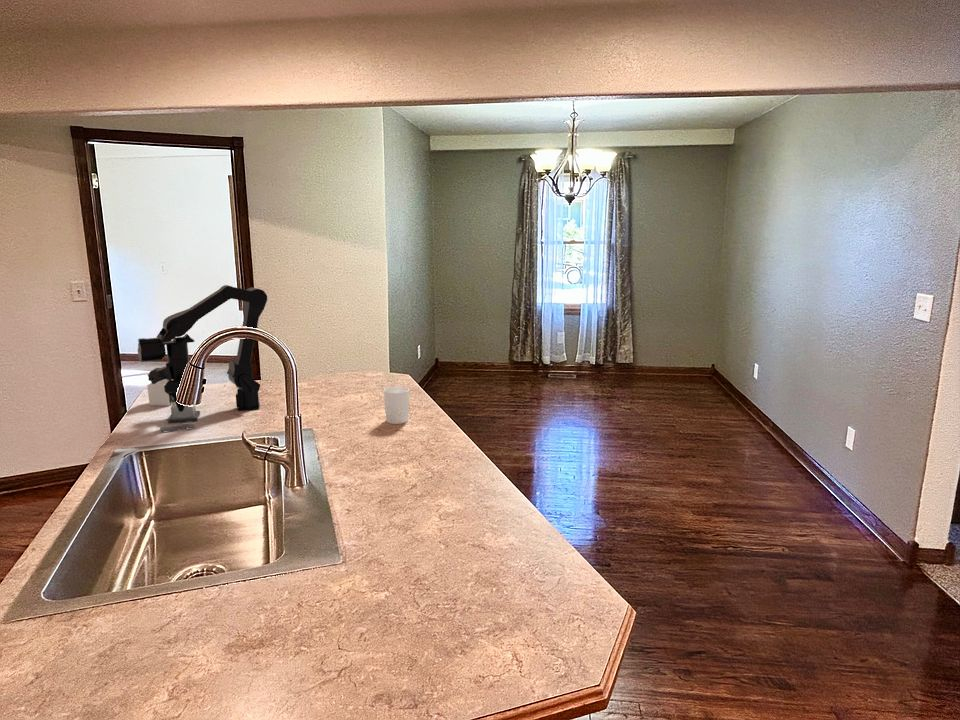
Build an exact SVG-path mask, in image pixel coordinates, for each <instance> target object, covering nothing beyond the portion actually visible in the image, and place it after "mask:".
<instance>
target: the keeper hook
mask: <svg viewBox="0 0 960 720" xmlns="http://www.w3.org/2000/svg"><path fill="white" fill-rule="evenodd" d="M200 415H201V410H196V413H195V415H194V417H191V418H179V419H172V415H171V414H170V416H169V418H168V419H167V424H176V423H178V422H180V423H187V422H186V421H192V422H198V420H199V418H198V417H200ZM197 419H198V420H197Z"/></svg>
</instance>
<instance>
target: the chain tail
mask: <svg viewBox="0 0 960 720" xmlns="http://www.w3.org/2000/svg"><path fill="white" fill-rule="evenodd" d="M194 427H195V422H192V423H191V422H189V423H185V424H176V425H174V424H173V425H168V426H166V425H165V426H160V427H159V431H160V432H162V433H165V432H164V431H170V432H174V431H178V430H177V429H181V430H183V429H186V430H188V429H187V428H194ZM194 429H195V428H194Z"/></svg>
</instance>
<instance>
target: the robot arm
mask: <svg viewBox="0 0 960 720" xmlns="http://www.w3.org/2000/svg"><path fill="white" fill-rule="evenodd" d="M231 299H232V300H237V301H240V302H241V301H242V307H243V308H242V310H243V315H244V316H243V321H242V326H247V327H253V328H258V324H259V318H260V316H261V315H262V313H263V311H264V309H265V307H266V304H267V302H268V295H267V293H266V292H265V291H264V290H263V289H260V288H257V287H249V288H248V287H247V289H245V288H240V287H234V286H232V285H229V284H224V285H222V286H221V287H220V288H218V289H217V290H215V291H214V292H213V293H211V294H210V295H208V296H206V297H205V298H203V299H201V300H199V302H197V303H196V304H194V305H193V306H191V307H189V308H187V309H184V310H182V311H178V312H175V313H174V314H171V315H169V316H167V317H165V318H164V320H163V321H162V328H161V330H160V331H159V333H158V334H157V335H156V337H150V338H144V337H141V338H138V339H137V342H138V344H137V347H138V348H137V355H138V360H139V362H140V363H144V362H152V361H162V360H163V358H165V357H166V356H167V362H166V364H165V366H162V368H160V367H158V368H159V369H155V368H154V369H155V370H153V369H152V370H153V371H152V370H150V371H149V373H148V374H147V377H148V381H150V382H151V383H152V384H155V383H157V382H159V381H161V380H164V379H166V378H167V380H169V381H168V382H167V383H166V384H165V386H164V389H165V392H166V393H167V394H169V395H171V396H173V398H174V400H175V403H176V405H177V408H178V410H179V412H181V411H183V410H184V407H185V406H183V405H180V404H178V403H177V402H176V392H177V388H178V387H179V384H180V381H181V378H182V375H183V372H184V369H185V367H186V364H187V363H188V361H189V359H190V356H189V348H188V347H189V346H188V343H195V339H193V338H192V337H190V335H189V334H188V332H189V331H190V330H191V329H192V328H193V326H194V325H195V324H196V323H197V322H198V321H199V320H200V319H201V318H203V317H204V316H206V315H208V314H210V312H212V311H215V309H217V308H219V307H220V306H221V305H224V303H227V301H229V300H231ZM242 326H241V327H242ZM254 346H255V341H252V340H246V339H240V338H239V343H238V348H237V353H236V357H235V359H234V360H233V361H228V369H227V372H226V374H227V377H228V380H229V382H231V383H232V384H234V385H235V387H236V388H237V390H236V391H237V392H236V394H235V405H236V408H237V411H248V410H251V411H252V410H259V409H260V408H261V407H260V403H261V402H260V398H259V397H260V396H259V391H260V388H261V384H260V383H259V382H258V381H256V380H255V379H253V375H254V374H253V370H254V369H253V364H252V356H253V351H254ZM166 354H167V355H166Z"/></svg>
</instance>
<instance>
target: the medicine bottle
mask: <svg viewBox="0 0 960 720" xmlns="http://www.w3.org/2000/svg"><path fill="white" fill-rule="evenodd" d="M162 367H163V366H162ZM162 367H161V366H160V367H155V368H153V369H151V371H153V370H155V369H159V368H162ZM168 381H169V380H167V378H166V379H164V380H161V381H159V382H157V383H155V384H152V382H151V383H149V384H147V385H146V386H147V393H148V396H147V397H148V402H149V406H155V407H156V406H159V407H160V406H161V407H162V406H167V407H168V406H169V407H171V406H172V405H173V403H174V402H175V400H174V398H173V396H171V395H169V394H167V393H166V392H165V389H164V386H165V384H166V383H167V382H168Z"/></svg>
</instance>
